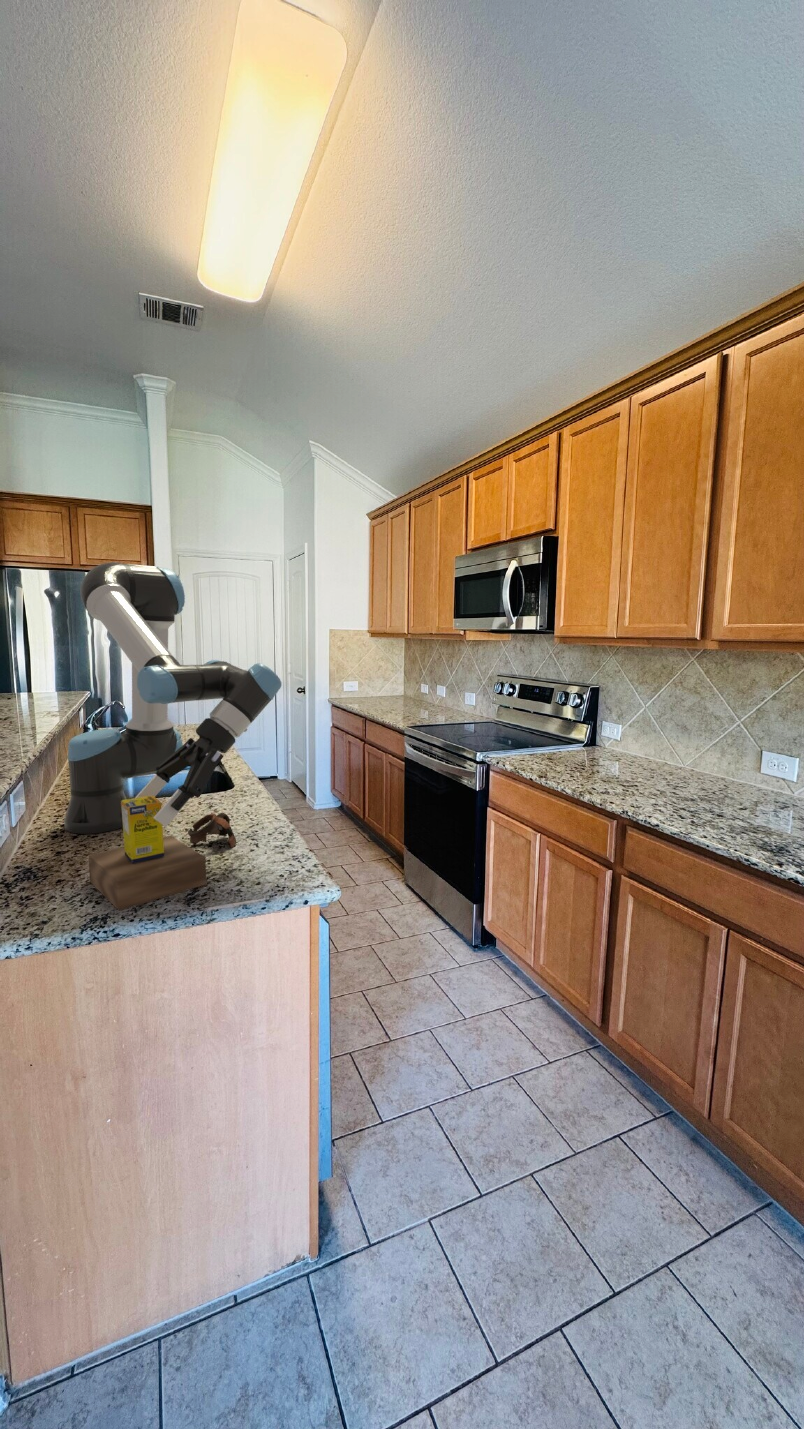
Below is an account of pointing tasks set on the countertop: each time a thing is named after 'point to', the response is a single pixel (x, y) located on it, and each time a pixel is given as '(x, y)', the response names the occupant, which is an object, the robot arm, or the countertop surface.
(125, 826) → the supplement box
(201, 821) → the broken clay pot
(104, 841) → the countertop surface
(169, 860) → the walnut block
